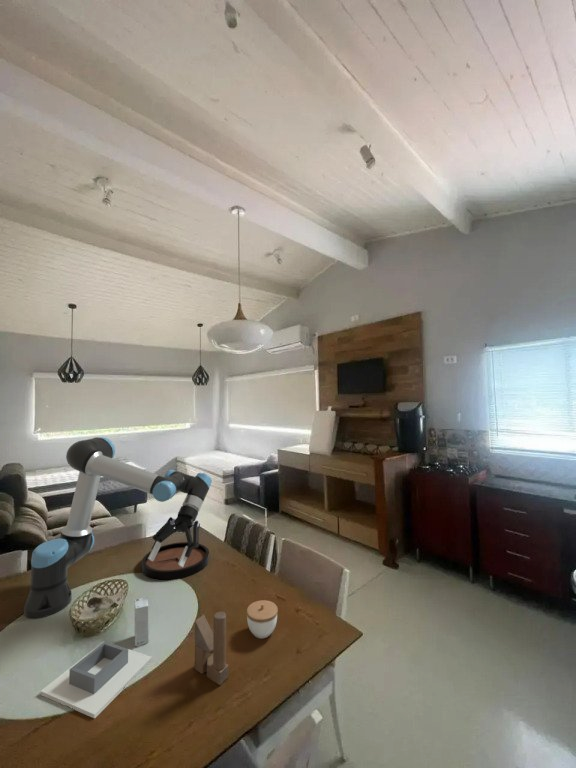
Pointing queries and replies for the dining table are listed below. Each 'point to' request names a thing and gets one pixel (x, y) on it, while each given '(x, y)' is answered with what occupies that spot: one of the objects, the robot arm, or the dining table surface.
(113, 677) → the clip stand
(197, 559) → the wall clock
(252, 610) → the lidded jar
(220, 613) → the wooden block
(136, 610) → the skincare box
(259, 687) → the dining table surface
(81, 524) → the robot arm
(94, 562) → the dining table surface
